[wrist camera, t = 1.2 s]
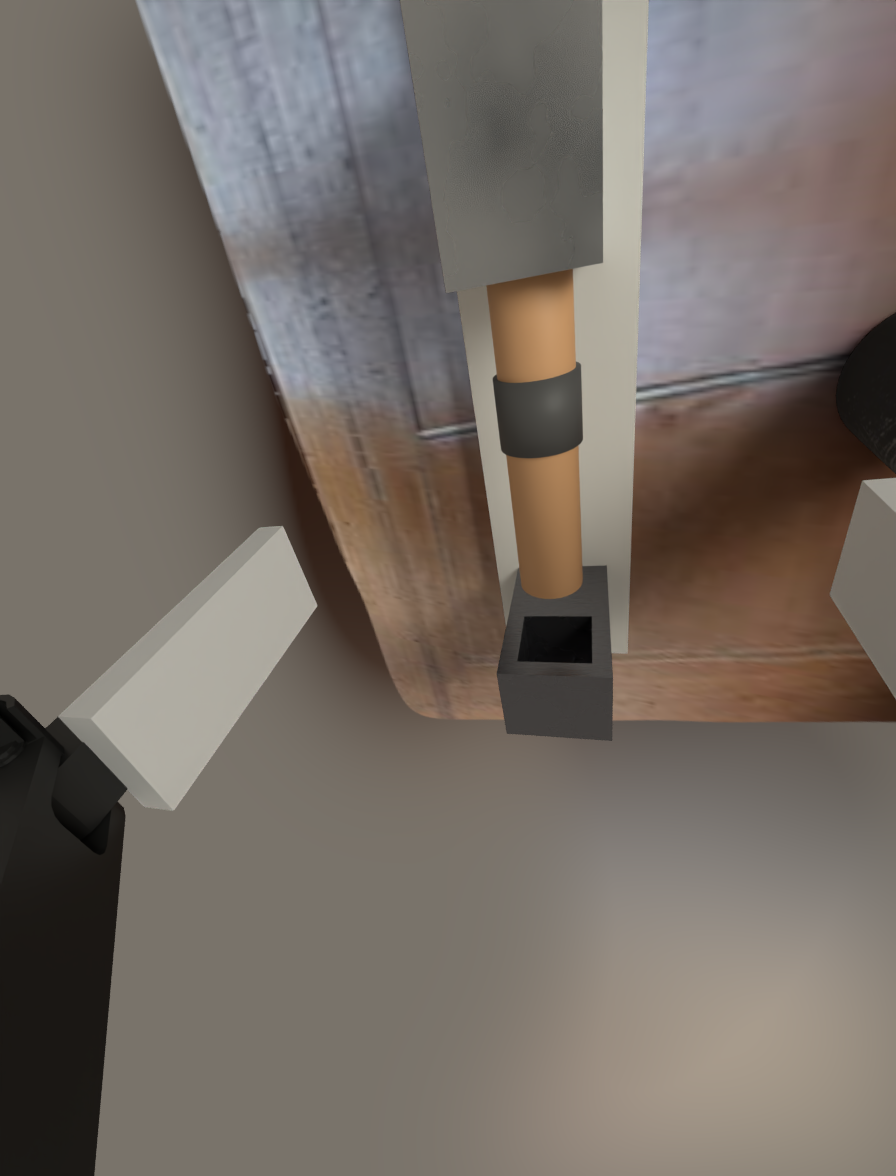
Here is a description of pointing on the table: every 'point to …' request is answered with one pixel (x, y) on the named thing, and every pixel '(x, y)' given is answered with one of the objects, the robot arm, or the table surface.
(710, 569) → the table surface
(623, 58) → the baseboard
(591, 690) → the charcoal socket
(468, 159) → the light grey block
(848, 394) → the travel mug
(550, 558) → the orange tube
